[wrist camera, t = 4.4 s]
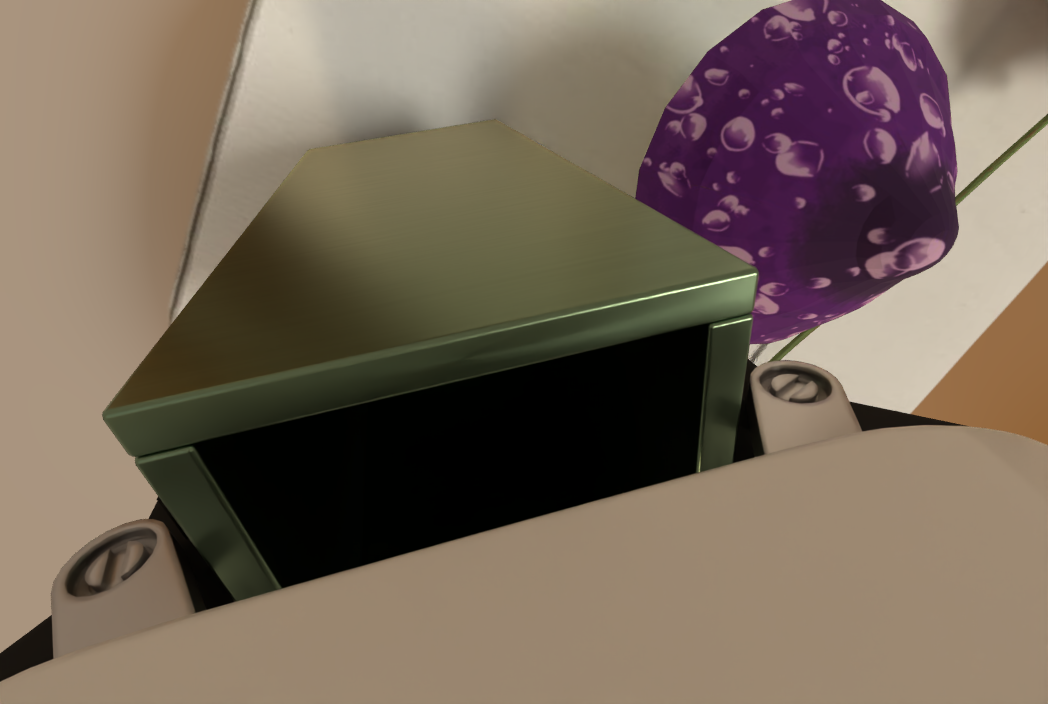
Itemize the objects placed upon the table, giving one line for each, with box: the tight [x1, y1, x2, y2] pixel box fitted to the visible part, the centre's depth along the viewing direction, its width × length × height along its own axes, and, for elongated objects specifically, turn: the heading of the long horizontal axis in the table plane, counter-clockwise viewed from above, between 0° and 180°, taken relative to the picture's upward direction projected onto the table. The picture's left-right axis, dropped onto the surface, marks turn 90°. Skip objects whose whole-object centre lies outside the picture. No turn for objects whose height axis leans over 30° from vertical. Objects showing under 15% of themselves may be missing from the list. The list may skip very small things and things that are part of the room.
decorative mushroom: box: [635, 0, 959, 344], centre depth 20 cm, size 12×12×15 cm
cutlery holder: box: [102, 119, 759, 602], centre depth 14 cm, size 7×7×16 cm
